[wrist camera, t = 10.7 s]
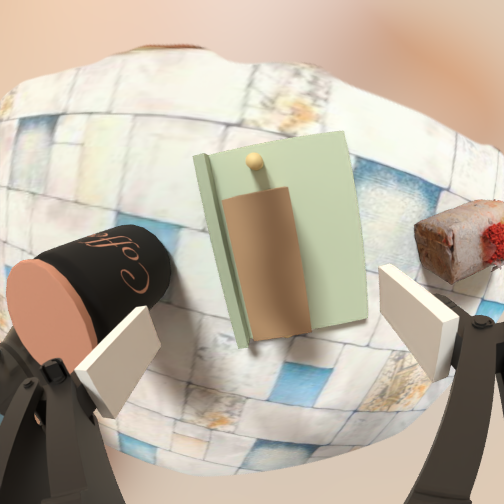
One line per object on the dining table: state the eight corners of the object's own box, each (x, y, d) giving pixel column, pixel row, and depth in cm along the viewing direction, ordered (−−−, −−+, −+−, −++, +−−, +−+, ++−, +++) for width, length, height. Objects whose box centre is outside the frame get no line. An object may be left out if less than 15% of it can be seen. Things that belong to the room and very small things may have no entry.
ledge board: (241, 334, 35) (237, 353, 30) (201, 159, 30) (189, 155, 26) (364, 312, 33) (375, 329, 28) (340, 133, 28) (350, 125, 24)
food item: (481, 191, 27) (529, 197, 18) (488, 244, 29) (532, 262, 19) (409, 217, 29) (454, 231, 20) (419, 276, 31) (460, 306, 21)
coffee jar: (190, 262, 33) (114, 338, 16) (146, 316, 35) (73, 399, 18) (129, 205, 32) (19, 230, 14) (93, 264, 34) (-1, 316, 17)
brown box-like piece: (259, 299, 32) (253, 341, 23) (237, 195, 29) (221, 200, 20) (303, 292, 31) (312, 331, 22) (284, 186, 28) (288, 186, 20)
